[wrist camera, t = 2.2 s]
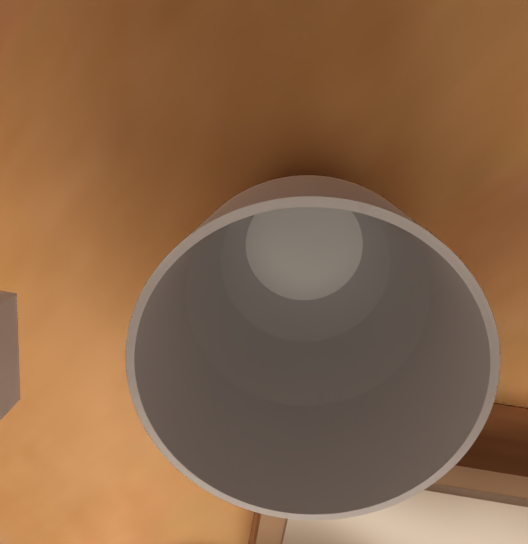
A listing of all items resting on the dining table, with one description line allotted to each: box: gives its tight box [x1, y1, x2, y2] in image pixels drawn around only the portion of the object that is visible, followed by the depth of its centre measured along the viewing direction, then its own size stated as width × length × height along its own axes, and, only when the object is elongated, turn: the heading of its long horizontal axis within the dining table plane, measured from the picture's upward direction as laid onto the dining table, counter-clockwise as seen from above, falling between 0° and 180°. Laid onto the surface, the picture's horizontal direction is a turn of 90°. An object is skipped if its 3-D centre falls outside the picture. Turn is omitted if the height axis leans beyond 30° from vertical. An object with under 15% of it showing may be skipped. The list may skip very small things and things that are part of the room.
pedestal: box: [249, 403, 528, 544], centre depth 22 cm, size 12×12×5 cm
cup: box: [126, 175, 500, 520], centre depth 15 cm, size 8×8×10 cm
